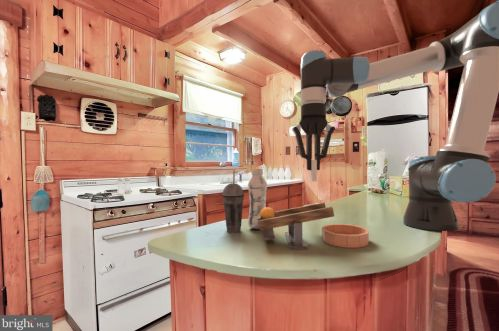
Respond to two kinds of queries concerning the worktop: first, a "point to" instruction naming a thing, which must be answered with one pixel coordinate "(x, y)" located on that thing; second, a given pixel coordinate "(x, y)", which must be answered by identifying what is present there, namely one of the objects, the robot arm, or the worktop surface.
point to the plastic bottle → (256, 197)
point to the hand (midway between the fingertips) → (313, 180)
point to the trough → (293, 217)
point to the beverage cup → (233, 205)
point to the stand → (295, 236)
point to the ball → (267, 213)
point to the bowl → (345, 235)
